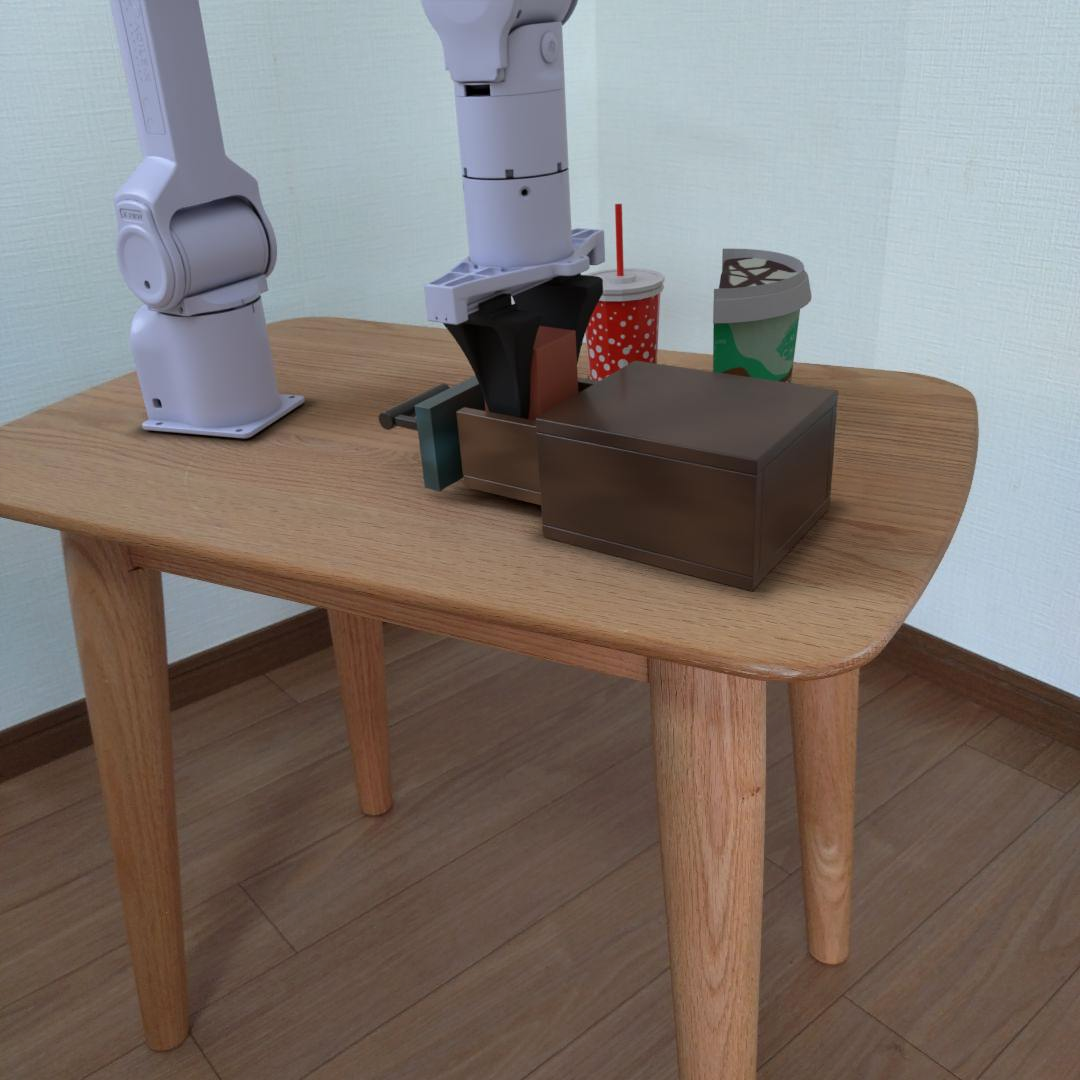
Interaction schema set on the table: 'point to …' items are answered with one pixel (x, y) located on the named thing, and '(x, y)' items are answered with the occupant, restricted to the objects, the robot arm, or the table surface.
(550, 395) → the block
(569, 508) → the cabinet
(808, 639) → the table surface
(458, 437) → the drawer
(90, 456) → the table surface
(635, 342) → the beverage cup
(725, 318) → the food container
